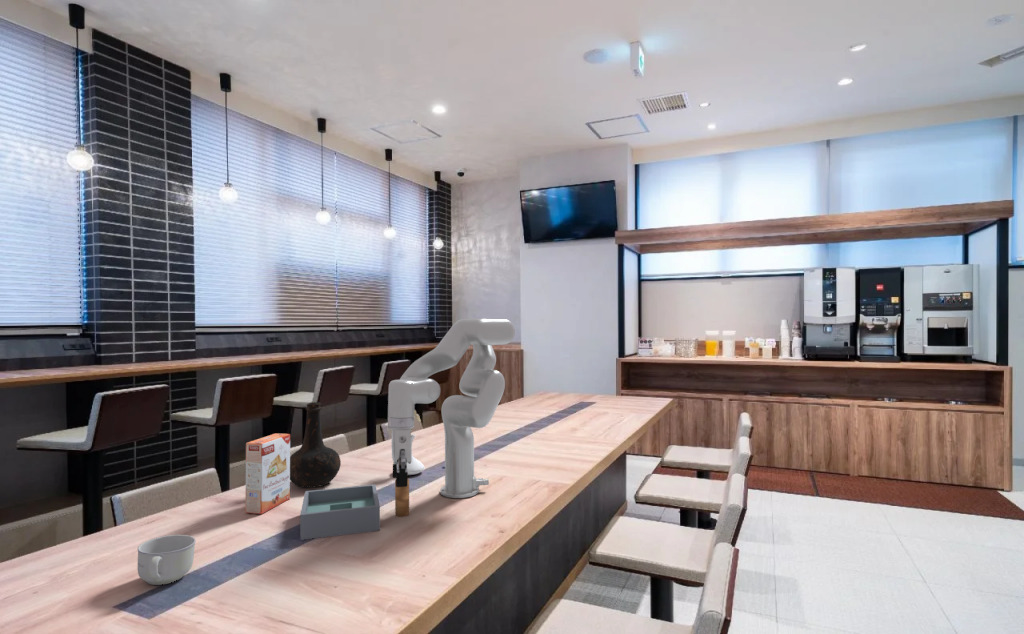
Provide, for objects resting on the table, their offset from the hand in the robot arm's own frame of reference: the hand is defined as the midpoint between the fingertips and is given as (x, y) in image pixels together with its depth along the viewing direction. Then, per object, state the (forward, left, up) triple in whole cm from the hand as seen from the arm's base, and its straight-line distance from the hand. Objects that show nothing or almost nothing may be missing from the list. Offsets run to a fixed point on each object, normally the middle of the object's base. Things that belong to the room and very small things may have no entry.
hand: (399, 481), depth 156 cm
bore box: (+16, -1, -10) cm, 19 cm away
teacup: (+53, +23, -10) cm, 59 cm away
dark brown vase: (+25, -40, -10) cm, 48 cm away
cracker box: (+37, -21, -10) cm, 44 cm away
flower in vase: (-8, -43, -10) cm, 44 cm away
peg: (-1, -1, -10) cm, 10 cm away
